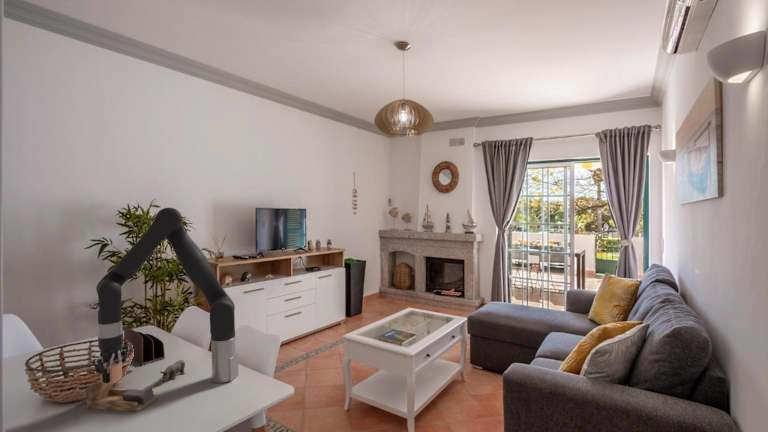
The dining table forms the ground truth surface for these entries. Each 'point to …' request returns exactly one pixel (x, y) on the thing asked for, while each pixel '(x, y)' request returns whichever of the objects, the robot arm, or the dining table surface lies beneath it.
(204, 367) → the dining table surface
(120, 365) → the block
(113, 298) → the robot arm
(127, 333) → the letter holder
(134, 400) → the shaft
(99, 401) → the wooden tray
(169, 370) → the rhino figurine
